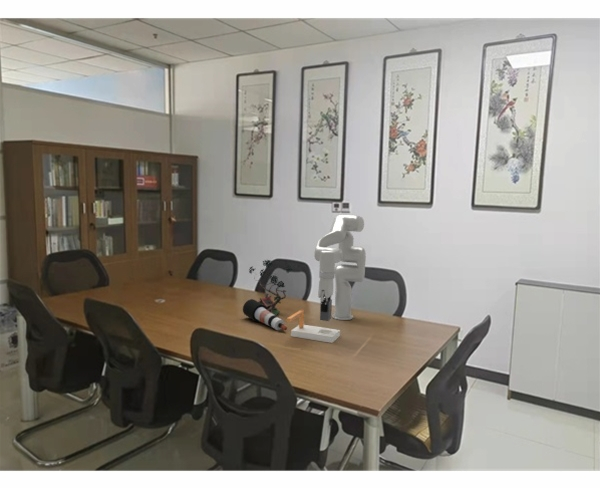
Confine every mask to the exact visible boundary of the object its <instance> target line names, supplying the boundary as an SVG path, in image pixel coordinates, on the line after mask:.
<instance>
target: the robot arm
mask: <svg viewBox="0 0 600 488" xmlns="http://www.w3.org/2000/svg"><path fill="white" fill-rule="evenodd" d="M364 227H365V220H364V218H363V217H362V216H360V215H355V214H338V215H336V216H335V217H334V218H333V222H332V225H331V228H330V231H329V232H328V233H326V234H325V235H324V236H322V237H321V238H319V240H318V241H317V243H316V246H315V250H314V252H313V253H314V259H315V260H316V261H317V262H319V275H318V276H319V281H318V282H319V283H318V296H317V297H318V298H320V299H319V300H320V304H321V312H327V308H328V304H327V299H330V300H332V296H333V295H334V313H331V318H332V319H335V320H337V321H338V320H339V321H348V320H352V319H354V315H353V314H352V295H353V293H352V291H353V290H352V286H351V284H350V282H353V283H354V282H355V283H362V282H363V281H364V280H365V276H366V275H365V273H366V257H367V256H366V254H367V253H366V250H365V248H364V247H362V246H356V245H355V246H354V235H353V234H352V232H357V233H359V232H362V231H363V230H364ZM337 244H338V247H330V246H334V245H337ZM340 262H342V263H341V264H337V265H335V264H336V263H340ZM343 263H344V264H343ZM346 263H351V264H346ZM334 280H335V281H334ZM334 282H335V290H334ZM334 291H335V292H334ZM324 299H326V301H325V300H324Z"/></svg>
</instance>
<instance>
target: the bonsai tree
mask: <svg viewBox="0 0 600 488" xmlns="http://www.w3.org/2000/svg"><path fill="white" fill-rule="evenodd" d="M262 265H263V266H260V267H265V268H262V269H261V270H260V271H259V276H260V277H261V279H260V280H258V279H257V281H259V285H260V287H261V288H262V289H264V290H265V291H267V292H268V293H270V294H272V295H274V296H275V297H274V298H273V300H272V295H270V296H268V295H269V294H268V293H264V297H265V298H260V297H259V301H258V302H259V303H261V304H263V305H264V306H266V308H267V310H268V311H269V312H271V313H273V314H274V315H275V316H278V314H279V313H280V310H279V309H278V308H277V307H276V306H277V305H278V304H281V303H282V302H281V300H284V299H286V296H287V295H286V292H287V291H286V290H284V289H283V290H280V289H281V288H285V287H286V285H285V282H284V281H282V280H280V281H279V280H278V278H279V277H278V276H277V275H273V274H272V275H270V276H269V279H270V283H266V284H261V282H262V280H263V279H264V278H265V277H266V275H267V273H268V271H269V270H270V268H272V267H274V266H273V265H274V262H272V260H271V259H270V260H269V259H265V260H262ZM253 267H254V266H253V265H252V266H250V267H249V269H248V272H249V273H248V274H252V273H254V274H256V272H255V271H256V270H257V269H256V267H255V268H253ZM267 268H268V269H267ZM265 269H267V270H265ZM285 271H286V273H287V274H289V273H291V272H292V271H293V269H292V265H289V264H288V265H286V268H285ZM263 276H264V277H263ZM254 280H256V279H255V276H254ZM271 284H272V285H271ZM267 285H271V286H269V289H268V288H266V287H264V286H267ZM273 286H277V287H276V288H275V292H273V291H272V288H273ZM278 292H282V293H283V296H282V297H281V296H280V294H279V293H278Z"/></svg>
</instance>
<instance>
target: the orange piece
mask: <svg viewBox="0 0 600 488" xmlns="http://www.w3.org/2000/svg"><path fill="white" fill-rule="evenodd" d="M298 318H299V319H298ZM296 319H298V325H299V328H304V325H305V310H304V309H299V310H298V311H296V312H294V313H293V314H291V315H290V316H288V317H287V318H286V322H287V323H291V322H293V321H294V320H296Z"/></svg>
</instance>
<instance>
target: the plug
mask: <svg viewBox="0 0 600 488" xmlns="http://www.w3.org/2000/svg"><path fill="white" fill-rule="evenodd" d="M324 300H325V301H326V299H324ZM332 301H333V299H331V300H330V299H327V304H328V308H327V312H321V303H320V310H319V311H320V312H319V321H323V322H324V321H325V322H329V321H330V320H332V307H333V305H332V304H333V302H332Z"/></svg>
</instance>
